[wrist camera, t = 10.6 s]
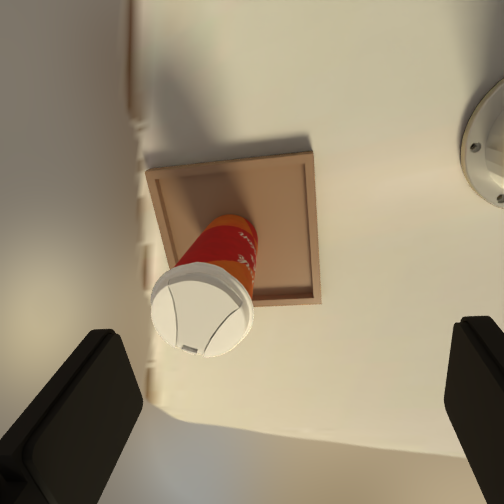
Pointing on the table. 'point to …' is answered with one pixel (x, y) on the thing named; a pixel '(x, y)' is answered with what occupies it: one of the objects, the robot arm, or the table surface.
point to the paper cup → (209, 290)
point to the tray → (248, 217)
